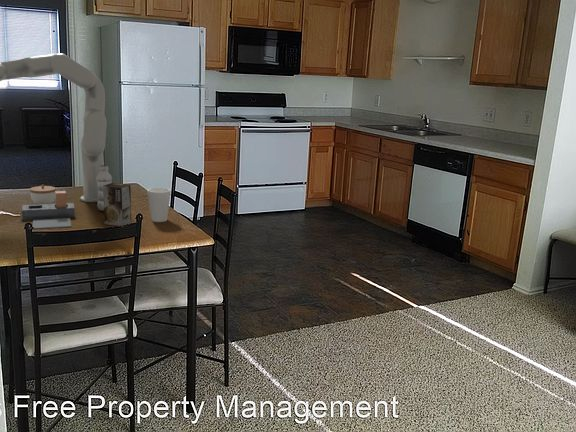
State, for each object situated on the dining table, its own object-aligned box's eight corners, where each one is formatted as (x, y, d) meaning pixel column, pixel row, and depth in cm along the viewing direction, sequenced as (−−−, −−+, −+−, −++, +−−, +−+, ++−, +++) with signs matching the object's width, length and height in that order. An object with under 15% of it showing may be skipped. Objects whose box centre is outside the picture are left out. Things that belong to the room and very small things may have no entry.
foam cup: (151, 216, 246) (150, 187, 243) (172, 217, 246) (172, 188, 243) (145, 222, 237) (144, 191, 234) (167, 223, 237) (167, 193, 233)
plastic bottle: (116, 210, 253) (115, 165, 248) (105, 213, 247) (104, 167, 242) (105, 208, 256) (103, 164, 251) (94, 211, 250) (92, 166, 245)
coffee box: (132, 223, 235) (131, 184, 231) (122, 227, 229) (121, 187, 225) (113, 220, 238) (112, 182, 234) (103, 224, 232) (102, 185, 228)
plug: (66, 213, 244) (65, 190, 241) (67, 216, 240) (65, 193, 238) (56, 214, 242) (55, 191, 240) (56, 216, 239) (55, 193, 236)
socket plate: (73, 211, 247) (73, 202, 246) (74, 217, 239) (74, 208, 238) (23, 214, 240) (22, 205, 239) (22, 219, 232) (21, 210, 231)
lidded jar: (31, 208, 249) (29, 187, 246) (30, 203, 258) (29, 182, 256) (57, 207, 253) (56, 186, 251) (56, 201, 263) (55, 181, 260)
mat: (70, 219, 236) (69, 218, 236) (71, 226, 226) (71, 225, 225) (33, 220, 231) (33, 220, 231) (32, 229, 220) (32, 228, 220)
